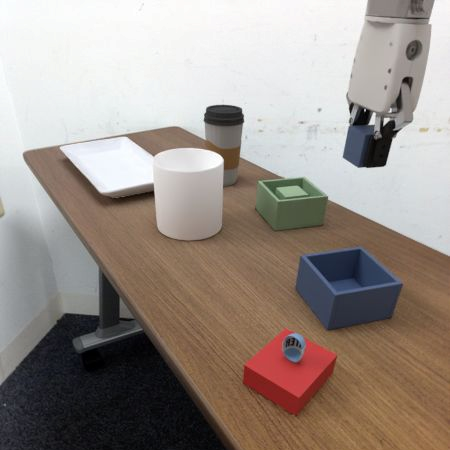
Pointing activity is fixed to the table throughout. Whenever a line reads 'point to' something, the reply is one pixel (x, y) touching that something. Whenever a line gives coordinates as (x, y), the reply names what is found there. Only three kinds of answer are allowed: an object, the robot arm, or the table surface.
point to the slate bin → (347, 287)
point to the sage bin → (291, 204)
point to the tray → (113, 165)
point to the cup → (188, 193)
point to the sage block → (290, 192)
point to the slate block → (358, 144)
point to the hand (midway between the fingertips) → (364, 159)
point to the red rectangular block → (289, 370)
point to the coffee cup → (225, 137)
